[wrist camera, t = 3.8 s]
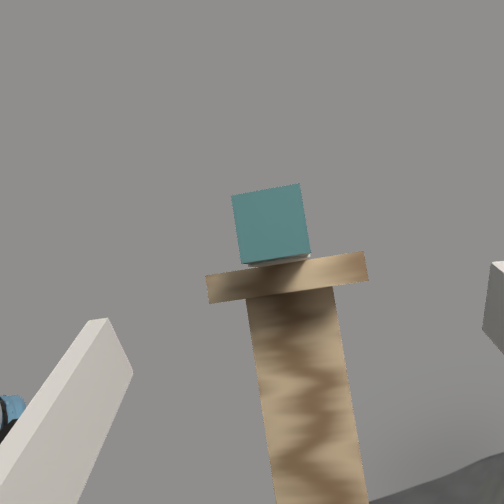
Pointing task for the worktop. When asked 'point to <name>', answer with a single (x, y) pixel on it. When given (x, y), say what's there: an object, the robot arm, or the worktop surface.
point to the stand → (302, 375)
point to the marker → (271, 226)
